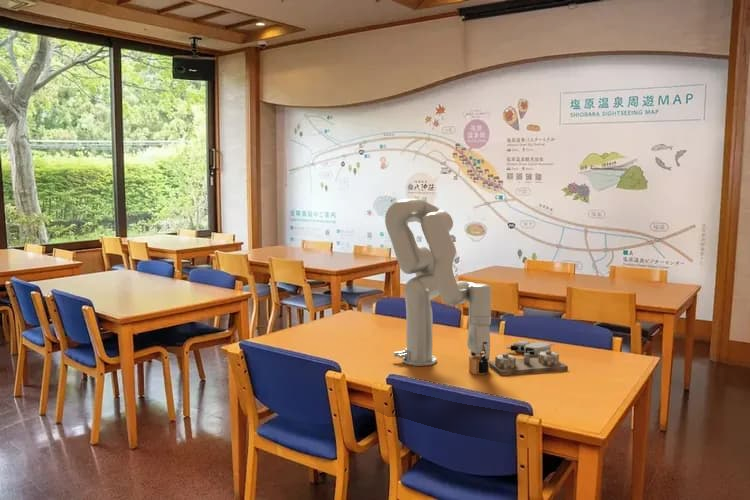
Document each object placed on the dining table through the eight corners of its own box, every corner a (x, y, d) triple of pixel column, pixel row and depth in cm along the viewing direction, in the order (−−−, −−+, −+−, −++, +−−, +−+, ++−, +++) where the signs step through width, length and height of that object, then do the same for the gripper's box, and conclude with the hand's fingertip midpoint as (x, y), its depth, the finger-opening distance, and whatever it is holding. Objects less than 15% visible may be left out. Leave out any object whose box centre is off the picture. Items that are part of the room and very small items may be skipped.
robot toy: (504, 355, 237) (537, 360, 226) (504, 343, 237) (537, 348, 226) (523, 349, 245) (556, 354, 234) (523, 338, 245) (556, 342, 234)
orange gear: (473, 375, 211) (473, 361, 210) (466, 369, 217) (466, 355, 217) (492, 373, 212) (492, 359, 211) (484, 367, 219) (484, 353, 218)
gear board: (500, 375, 210) (500, 359, 209) (487, 365, 222) (487, 350, 221) (567, 370, 215) (568, 355, 214) (551, 360, 227) (551, 345, 226)
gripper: (460, 314, 220) (460, 362, 222) (478, 326, 203) (478, 378, 205) (480, 313, 222) (480, 361, 224) (500, 324, 205) (499, 376, 207)
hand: (479, 369), depth 215 cm, fingers closed on orange gear, 7 cm apart
